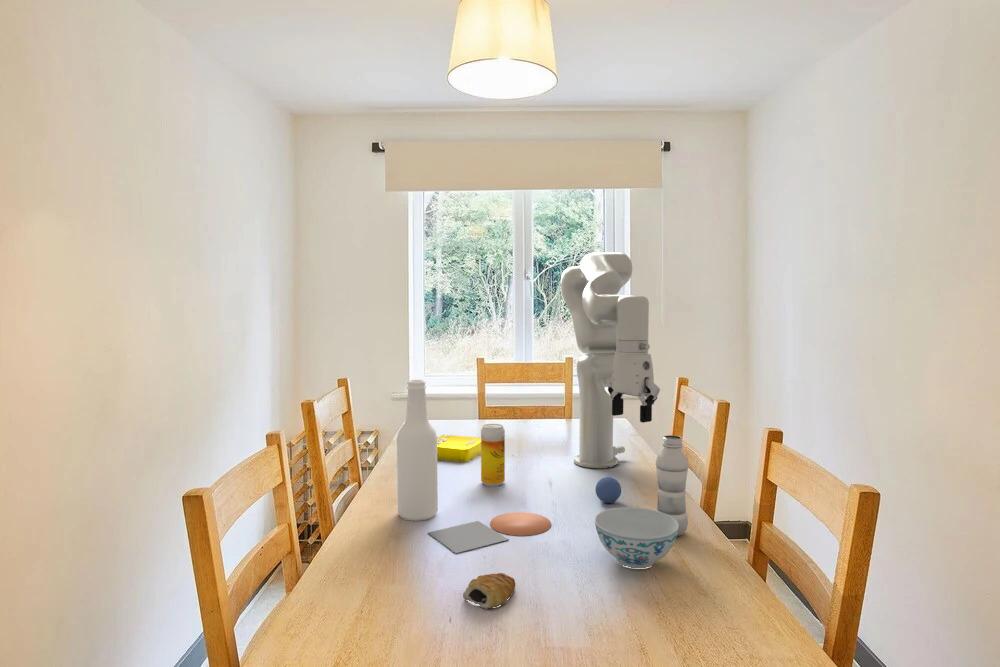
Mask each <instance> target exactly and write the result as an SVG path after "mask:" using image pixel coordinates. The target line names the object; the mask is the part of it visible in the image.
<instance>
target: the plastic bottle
mask: <svg viewBox="0 0 1000 667" xmlns="http://www.w3.org/2000/svg"><path fill="white" fill-rule="evenodd" d="M662 440H663V443H662V446H663V449H662V450H661V451H660V452H659V454H658V455H657V456H656V460H655V466H656V474H657V487H658V489H657V490H658V493H657V502H656V503H657V504H656V510H655V511H658V512H662V513H664V514H667V515H669V516H671V517H672V518H674V519H675V520H676V521H677V522H678V524H679V529H678V533H677V537H678V536H682V534H683V535H684V534H685V533H686V531H687V530H688V525H689V520H688V518H689V517H688V513H687V507H686V504H687V503H686V490H687V489H686V487H687V478H688V472H689V460H688V458H687V457H686V455H685V453H684V452H683V450H682V448H683V437H682V436H679V435H674V434H672V435H671V434H667V435H663V439H662Z"/></svg>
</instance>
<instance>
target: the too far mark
mask: <svg viewBox="0 0 1000 667" xmlns="http://www.w3.org/2000/svg"><path fill="white" fill-rule="evenodd" d="M427 534H428V535H429V536H431V537H432V538H433V539H434V540H436V541H437V540H438V541H437V542H439V543H440V542H441V543H442V545H443V546H444V547H446V548H447V549H448V548H449V549H448V550H450V551H451V552H452V551H453V552H452V553H454V554H455V553H456V555H457V553H459V554H462V553H465V552H470V551H473V550H477V548H478V549H481V548H480V547H482V548H485V547H488V546H487V545H489V546H492V545H491V544H493V545H496V544H495V543H497V544H500V543H499V542H501V543H504V542H503V541H505V542H508V541H507V540H510V539H509V538H507V537H506V536H504V535H502V533H500V532H497V531H495V530H494V529H493V528H492V527H491V528H490V527H489V526H487V525H485V524H484V523H482V522H481V521H479V520H476V521H472V522H467V523H464V524H458V525H455V526H450V527H446V528H442V529H438V530H437V529H436V530H433V531H429V532H427ZM441 543H440V544H441ZM484 546H485V547H484Z"/></svg>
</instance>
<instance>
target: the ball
mask: <svg viewBox="0 0 1000 667" xmlns="http://www.w3.org/2000/svg"><path fill="white" fill-rule="evenodd" d="M594 491H595V494H596V497H597V498H598V499H599V500H600V501H601V502H603V503H606V504H613V503H615V502H617V501H618V500H619V499H620V497H621V495H622V486H621V484H620V482H619V481H618V480H617V479H616V478H614V477H613V476H605V477H602V478H600V479H599V480H598V481H597V483H596V485H595V490H594Z"/></svg>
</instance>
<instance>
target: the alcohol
mask: <svg viewBox="0 0 1000 667" xmlns="http://www.w3.org/2000/svg"><path fill="white" fill-rule="evenodd" d="M426 383H427V382H426V381H425V380H424V379H410V380H408V381H407V400H406V401H407V402H406V415H405V420H404V423H403V424H402V426H401V427H400V429H399V430H398V433H397V435H396V436H397V437H396V460H397V462H396V463H397V464H396V467H397V468H396V469H397V471H396V472H397V474H396V475H397V476H396V477H397V479H396V480H397V481H396V482H397V485H396V486H397V513H398V515H399V516H400V518H401V519H402V518H403V519H402V520H406V521H409V520H410V521H409V522H422V520H423V521H428V520H431V519H433V518H434V517H435V516H436V515H437V512H438V510H439V509H438V508H439V504H438V499H439V497H438V494H439V492H438V484H439V483H438V460H437V437H438V436H437V432H436V429H435V427H434V426H433V425H432V424H431V422H430V421H429V417H428V409H427V408H428V406H427V396H426V388H427V387H426Z"/></svg>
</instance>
